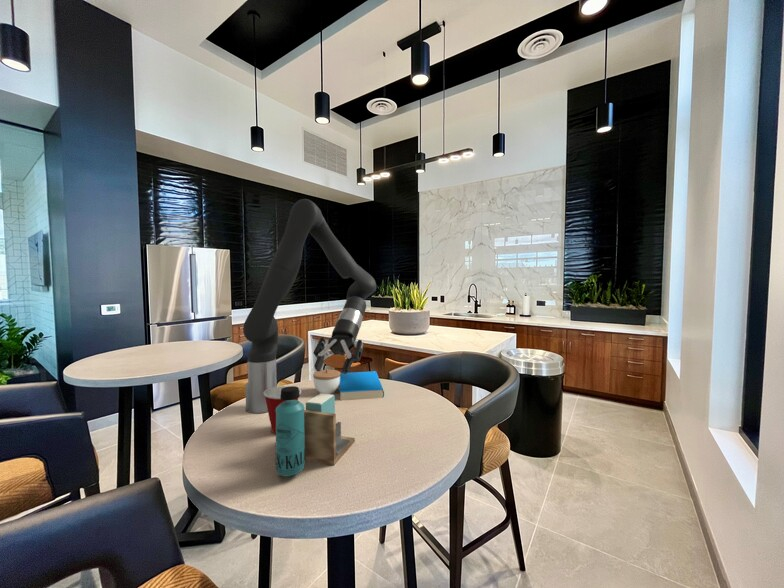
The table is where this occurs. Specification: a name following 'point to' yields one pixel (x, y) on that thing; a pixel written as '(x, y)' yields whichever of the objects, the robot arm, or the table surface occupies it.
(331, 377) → the lidded jar
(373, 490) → the table surface
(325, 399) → the teal book
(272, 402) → the plastic cup
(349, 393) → the book
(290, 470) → the beverage bottle
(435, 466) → the table surface
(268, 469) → the table surface
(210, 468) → the table surface
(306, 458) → the shelf
